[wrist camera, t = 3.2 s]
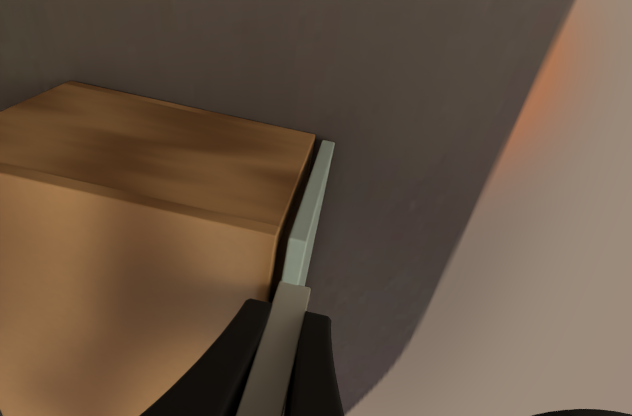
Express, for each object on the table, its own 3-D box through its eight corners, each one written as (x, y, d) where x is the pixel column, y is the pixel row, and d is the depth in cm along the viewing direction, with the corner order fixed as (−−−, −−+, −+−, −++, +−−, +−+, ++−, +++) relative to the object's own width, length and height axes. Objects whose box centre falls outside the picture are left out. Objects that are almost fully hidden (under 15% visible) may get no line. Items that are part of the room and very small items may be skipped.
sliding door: (344, 143, 17) (287, 388, 8) (310, 295, 21) (247, 568, 12) (320, 138, 17) (237, 375, 8) (291, 291, 21) (215, 560, 12)
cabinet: (316, 134, 17) (276, 236, 11) (269, 386, 26) (233, 520, 20) (69, 79, 18) (-93, 152, 12) (104, 347, 26) (20, 466, 20)
